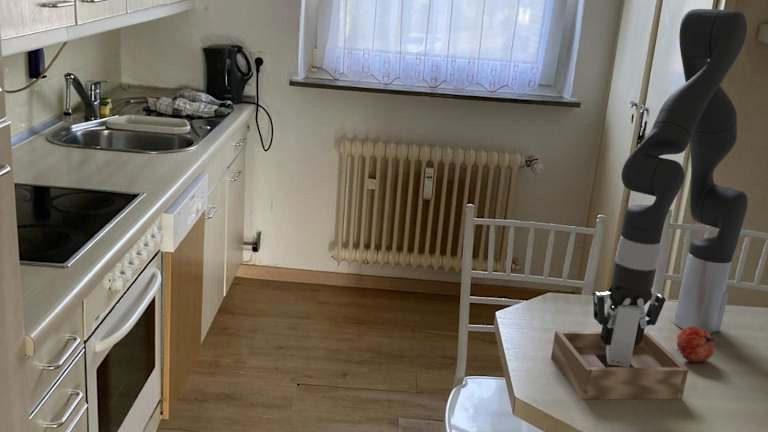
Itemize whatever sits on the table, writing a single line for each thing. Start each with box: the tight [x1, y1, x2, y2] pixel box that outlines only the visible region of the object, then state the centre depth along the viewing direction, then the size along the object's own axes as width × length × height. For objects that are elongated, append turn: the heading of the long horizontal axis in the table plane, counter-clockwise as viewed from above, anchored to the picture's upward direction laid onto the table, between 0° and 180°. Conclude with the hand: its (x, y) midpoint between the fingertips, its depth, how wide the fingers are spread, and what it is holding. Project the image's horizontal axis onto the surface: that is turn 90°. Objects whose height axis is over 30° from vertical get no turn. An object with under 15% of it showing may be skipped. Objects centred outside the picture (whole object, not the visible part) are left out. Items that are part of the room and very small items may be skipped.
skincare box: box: [606, 305, 641, 367], centre depth 149 cm, size 6×4×12 cm
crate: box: [550, 330, 689, 400], centre depth 151 cm, size 20×16×6 cm
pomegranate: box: [676, 326, 716, 363], centre depth 162 cm, size 7×7×10 cm
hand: (620, 343), depth 150 cm, fingers closed on skincare box, 5 cm apart
